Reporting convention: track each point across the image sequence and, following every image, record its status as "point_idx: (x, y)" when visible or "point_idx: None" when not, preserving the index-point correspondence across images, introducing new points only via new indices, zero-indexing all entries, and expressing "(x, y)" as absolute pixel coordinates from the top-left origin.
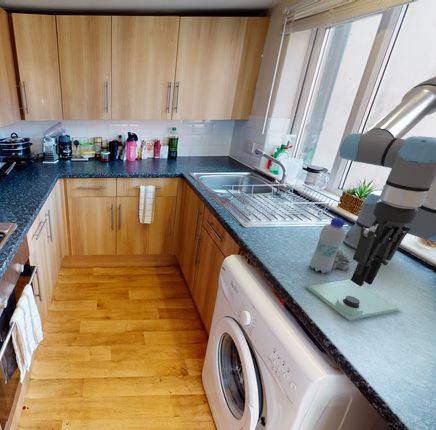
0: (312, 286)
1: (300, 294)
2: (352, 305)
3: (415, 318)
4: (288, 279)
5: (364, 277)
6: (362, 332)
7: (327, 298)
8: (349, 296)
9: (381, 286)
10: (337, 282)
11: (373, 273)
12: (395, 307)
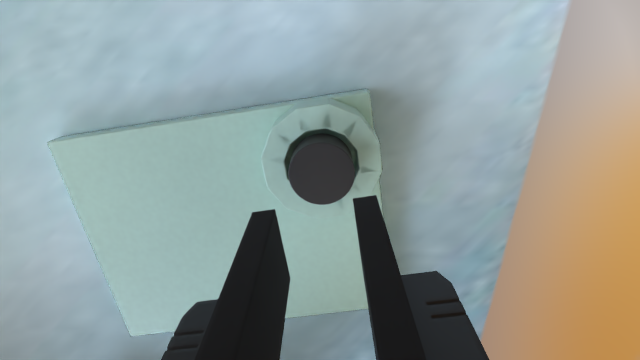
0: None
1: (456, 262)
2: (340, 142)
3: (5, 83)
4: None
5: (387, 243)
6: (365, 5)
7: None
8: (319, 198)
9: (17, 289)
10: None
11: (260, 285)
12: (65, 145)
